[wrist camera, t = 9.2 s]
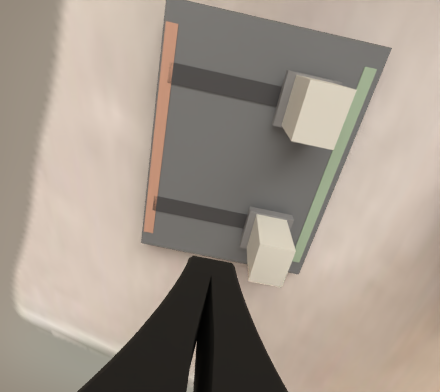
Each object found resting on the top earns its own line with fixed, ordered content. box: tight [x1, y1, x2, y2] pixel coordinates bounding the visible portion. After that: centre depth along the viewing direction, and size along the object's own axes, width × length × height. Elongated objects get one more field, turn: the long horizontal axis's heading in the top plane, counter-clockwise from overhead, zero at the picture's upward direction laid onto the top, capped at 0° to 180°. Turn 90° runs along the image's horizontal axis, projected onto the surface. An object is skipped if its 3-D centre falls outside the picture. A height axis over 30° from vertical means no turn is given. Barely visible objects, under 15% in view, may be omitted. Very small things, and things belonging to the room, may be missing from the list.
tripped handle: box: [240, 206, 296, 288], centre depth 16 cm, size 3×3×4 cm
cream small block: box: [272, 70, 357, 150], centre depth 13 cm, size 3×3×4 cm
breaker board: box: [141, 0, 392, 274], centre depth 17 cm, size 11×14×2 cm
